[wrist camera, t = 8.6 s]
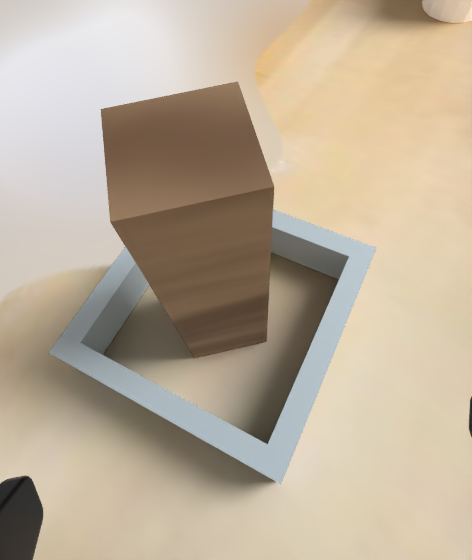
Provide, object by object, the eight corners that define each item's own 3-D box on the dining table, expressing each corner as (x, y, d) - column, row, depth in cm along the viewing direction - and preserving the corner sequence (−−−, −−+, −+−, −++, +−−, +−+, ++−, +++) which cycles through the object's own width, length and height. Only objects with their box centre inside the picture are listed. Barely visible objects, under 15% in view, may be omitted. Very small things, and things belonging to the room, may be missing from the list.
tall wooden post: (266, 341, 22) (274, 186, 10) (194, 358, 22) (110, 222, 10) (249, 278, 24) (237, 81, 12) (183, 292, 24) (100, 109, 12)
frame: (277, 481, 19) (280, 484, 16) (73, 366, 22) (48, 352, 20) (363, 271, 24) (376, 247, 21) (185, 202, 27) (177, 174, 25)
